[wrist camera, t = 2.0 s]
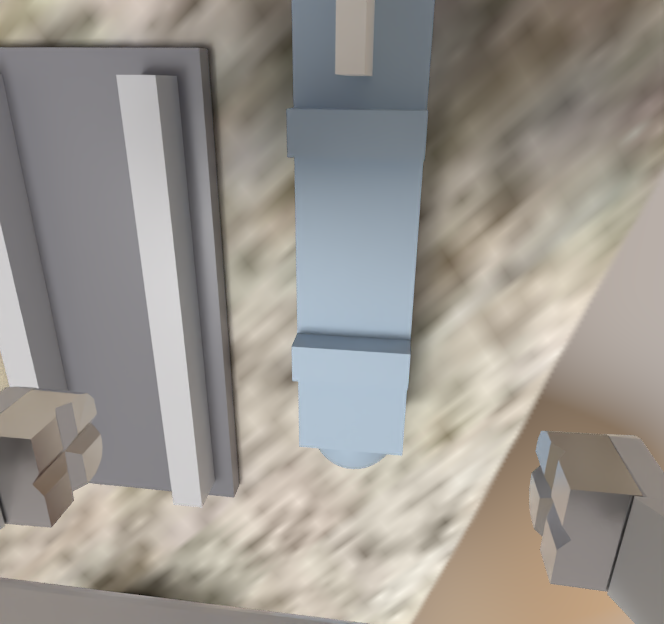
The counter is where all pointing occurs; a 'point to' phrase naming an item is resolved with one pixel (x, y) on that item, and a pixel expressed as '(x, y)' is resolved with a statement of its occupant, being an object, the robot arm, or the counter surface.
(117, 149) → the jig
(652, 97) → the counter surface
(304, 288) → the pale blue tabbed body
